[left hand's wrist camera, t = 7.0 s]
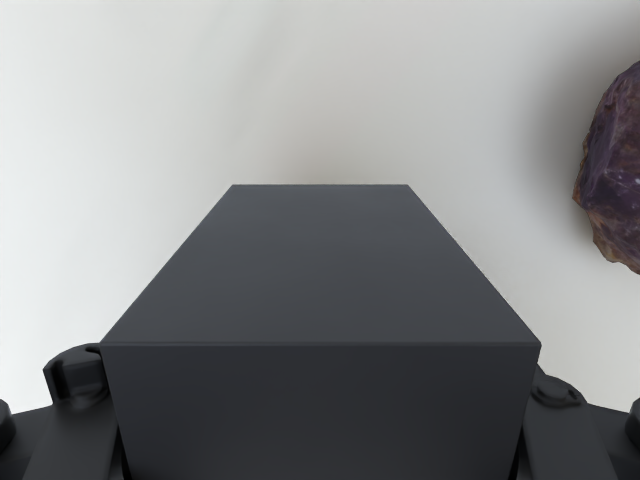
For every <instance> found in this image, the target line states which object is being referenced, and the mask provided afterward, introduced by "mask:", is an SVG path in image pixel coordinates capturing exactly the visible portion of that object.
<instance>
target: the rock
mask: <svg viewBox="0 0 640 480" xmlns="http://www.w3.org/2000/svg"><path fill="white" fill-rule="evenodd" d="M583 148H584V159H583V160H582V162H581V164H580V168H581V169H580V172H579V174H578V177H577V180H576V183H575V187H574V191H573V196H572V198H573V199H574V200H575V201H576V202H577V203H578V204H579V205H580V206H581V207H582V208H583V209H584V210H585V211H586V212H587V213H588V216H589V218H590V222H591V225H592V228H593V242H594V243H595V244H596V246H597V247H598V249H599V250H600V252H601V253H602V255H603V256H604V257H605V258H606V260H607V261H610V262H612V263H614V262H621V263H623V264H625V265H627V266H628V267H629V268H630V270H631V271H633V272H635V273H637V274H639V275H640V61H638V62H636V63H634V64H633V65H632V66H631V67H630V68H629V69H628V70H626V71H625V72H623V73H622V74H620V75H619V76H617V78H616V79H615V80H614V82H613V83H612V84H611V86H610V87H609V89H608V90H607V91H606V92H605V93H604V95H603V97H602V99H601V101H600V103H599V105H598V107H597V109H596V112H595V115H594V119H593V121H592V124H591V127H590V133H588V134H587V136H586V138H585V140H584V141H583Z"/></svg>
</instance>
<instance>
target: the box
mask: <svg viewBox="0 0 640 480" xmlns="http://www.w3.org/2000/svg"><path fill="white" fill-rule="evenodd" d="M99 348H100V352H101V356H102V360H103V364H104V368H105V372H106V376H107V380H108V384H109V388H110V392H111V396H112V400H113V404H114V408H115V412H116V416H117V421H118V425H119V429H120V433H121V437H122V441H123V445H124V449H125V453H126V457H127V461H128V465H129V469H130V473H131V477H132V480H508V479H509V475H510V471H511V467H512V463H513V459H514V455H515V451H516V447H517V443H518V439H519V435H520V431H521V427H522V423H523V419H524V415H525V410H526V406H527V402H528V398H529V394H530V390H531V386H532V382H533V378H534V374H535V370H536V366H537V362H538V358H539V354H540V350H541V342H540V341H539V340H538V338H537V337H536V336H535V335H534V334H533V333H532V331H531V330H530V329H529V328H528V327H527V325H526V324H525V323H524V322H523V321H522V320H521V318H520V317H519V316H518V315H517V314H516V312H515V311H514V310H513V309H512V308H511V306H510V305H509V304H508V303H507V302H506V301H505V299H504V298H503V297H502V296H501V295H500V293H499V292H498V291H497V290H496V289H495V288H494V286H493V285H492V284H491V283H490V282H489V280H488V279H487V278H486V277H485V276H484V275H483V273H482V272H481V271H480V270H479V269H478V267H477V266H476V265H475V264H474V263H473V261H472V260H471V259H470V258H469V257H468V256H467V254H466V253H465V252H464V251H463V250H462V248H461V247H460V246H459V245H458V244H457V243H456V241H455V240H454V239H453V238H452V237H451V235H450V234H449V233H448V232H447V231H446V230H445V228H444V227H443V226H442V225H441V224H440V222H439V221H438V220H437V219H436V218H435V216H434V215H433V214H432V213H431V212H430V211H429V209H428V208H427V207H426V206H425V205H424V203H423V202H422V201H421V200H420V199H419V198H418V196H417V195H416V194H415V193H414V192H413V190H412V189H411V188H410V187H409V186H408V185H232V186H231V187H230V188H229V190H228V191H227V192H226V193H225V194H224V195H223V197H222V198H221V199H220V200H219V201H218V203H217V204H216V205H215V206H214V207H213V209H212V210H211V211H210V212H209V213H208V214H207V216H206V217H205V218H204V219H203V220H202V222H201V223H200V224H199V225H198V226H197V227H196V229H195V230H194V231H193V232H192V233H191V235H190V236H189V237H188V238H187V239H186V241H185V242H184V243H183V244H182V245H181V246H180V248H179V249H178V250H177V251H176V252H175V254H174V255H173V256H172V257H171V258H170V260H169V261H168V262H167V263H166V264H165V265H164V267H163V268H162V269H161V270H160V271H159V273H158V274H157V275H156V276H155V277H154V279H153V280H152V281H151V282H150V283H149V284H148V286H147V287H146V288H145V289H144V290H143V292H142V293H141V294H140V295H139V296H138V298H137V299H136V300H135V301H134V302H133V303H132V305H131V306H130V307H129V308H128V309H127V311H126V312H125V313H124V314H123V315H122V317H121V318H120V319H119V320H118V321H117V322H116V324H115V325H114V326H113V327H112V328H111V330H110V331H109V332H108V333H107V334H106V336H105V337H104V338H103V339H102V340H101V341H100V344H99Z"/></svg>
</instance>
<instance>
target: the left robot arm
mask: <svg viewBox="0 0 640 480" xmlns="http://www.w3.org/2000/svg"><path fill="white" fill-rule="evenodd" d="M99 344H100V343H88V344H84V345H80V346H76V347H73V348H71V349H68V350H66V351H64V352H62V353H60V354H58V355H57V356H56V357H54V358H53V359H51V360H50V361H49V362H48V363H47V365H46V366H45V367H44V368H43V373H44V376H45V379H46V382H47V385H48V388H49V392H50V395H51V398H52V401H53V404H52V405H51V406H47V407H44V408H39V409H35V410H30V411H26V412H21V413H17V414H11V411H10V409H9V406H8V404H7V403H6V402H4V401H3V400H2V399H0V480H132V477H131V473H130V469H129V465H128V461H127V457H126V453H125V449H124V445H123V441H122V437H121V433H120V429H119V425H118V421H117V416H116V412H115V408H114V404H113V400H112V396H111V392H110V388H109V384H108V380H107V376H106V372H105V368H104V364H103V360H102V356H101V352H100V348H99ZM508 480H640V398H638V399H637V400H636V401H634V402H633V404H632V407H631V410H630V412H629V413H626V412H622V411H618V410H613V409H609V408H604V407H600V406H595V405H592V404H589V403H587V401H586V400H585V398H584V397H583V395H582V394H581V393H580V392H579V391H578V390H577V389H575V388H574V387H573V386H572V385H570V384H568V383H566V382H564V381H562V380H561V379H559V378H556V377H552V376H549V375H546V374H545V373H544V372H543V370H542V369H541V368H540V366H539V365H538V364H537V366H536V370H535V374H534V378H533V382H532V386H531V390H530V394H529V398H528V402H527V406H526V410H525V415H524V419H523V423H522V427H521V431H520V435H519V439H518V443H517V447H516V451H515V455H514V459H513V463H512V467H511V471H510V475H509V479H508Z"/></svg>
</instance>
